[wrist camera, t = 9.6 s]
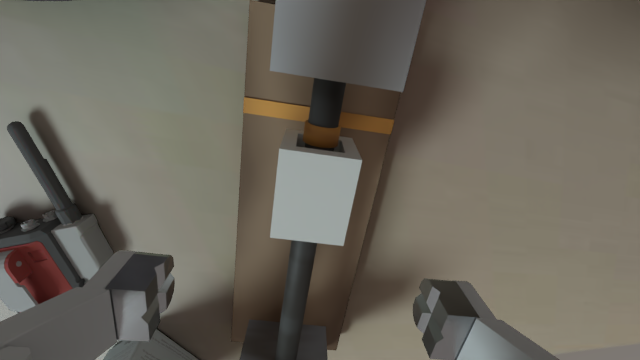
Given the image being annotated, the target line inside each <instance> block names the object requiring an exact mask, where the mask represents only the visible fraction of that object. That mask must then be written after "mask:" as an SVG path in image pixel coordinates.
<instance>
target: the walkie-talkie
mask: <svg viewBox="0 0 640 360" xmlns="http://www.w3.org/2000/svg"><path fill="white" fill-rule="evenodd" d="M7 130H8V132H9V134H10V135H11V137H12V138H13V140H14V142H15V143H16V145H17V147H18V148H19V150H20V151H21V153H22V155H23V156H24V158H25V160H26V161H27V163H28V164H29V166H30V168H31V169H32V171H33V173H34V174H35V176H36V177H37V179H38V181H39V182H40V184H41V186H42V187H43V189H44V190H45V192H46V194H47V195H48V197H49V199H50V200H51V202H52V203H53V205H54V207H55V208H56V211H55V210H52V211H49V212H46V213H45V215H44V214H43V215H42V216H43V219H37V220H34V219H31V220H28V221H25V222H21V223H16V221H15V219H14V218H13V217H5V218H1V219H0V299H1V300H2V301H3V302H4V304H5V305H6V306H7V307H8V309H9V310H11V311H16V312H18V313H21V312H23V311H25V310H27V309H29V308H32V307H34V306H36V305H38V304H40V303H43V302H45V301H47V300H49V299H51V298H54V297H56V296H58V295H60V294H62V293H65V292H67V291H69V290H71V289H73V288H76V287H83V286H84V285H85V284H86V283H87V282H88V281H89V280H90V279H91V278H92V277H93V276H94V275H95V273H96V272H97V271H98V270H99V269H100V268H101V267H102V266H103V265H104V264H105V263H106V262H107V261H108V260H109V259H110V258H111V256H112V255H113V254H114V253H113V251H112V249H111V247H110V246H109V244H108V242H107V240H106V239H105V237H104V235H103V233H102V231H101V230H100V228H99V226H98V224H97V223H98V221H97V219H96V217H95V215H94V214H89V215H83V216H82V215H81V214H80V212H79V210H78V208H77V207H76V205H75V204H73V203H72V202H71V200H70V199H69V197H68V195H67V194H66V192H65V190H64V188H63V187H62V185H61V183H60V182H59V180H58V178H57V176H56V175H55V173H54V171H53V170H52V168H51V166H50V165H49V163H48V161H47V159H44V158H43V157H42V155H41V153H40V152H39V150H38V148H37V147H36V145H35V143H34V142H33V140H32V138H31V137H30V135H29V133H28V132H27V130H26V128H25V127H24V125H23V124H22V123H21V122H12V123H10V124H9V125H8V126H7ZM15 223H16V224H15Z"/></svg>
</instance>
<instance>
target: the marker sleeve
mask: <svg viewBox="0 0 640 360" xmlns="http://www.w3.org/2000/svg"><path fill="white" fill-rule="evenodd" d="M303 134H304V131H300V130H293V129H286V130H285V133H284V136H283V139H282V142H281V145H280V148H279V156H278V165H277V174H276V184H275V193H274V203H273V212H272V222H271V231H270V238H278V239H286V240H295V241H304V242H313V243H321V244H330V245H339V246H343V245H344V241H345V236H346V232H347V227H348V223H349V218H350V214H351V209H352V205H353V200H354V196H355V191H356V187H357V182H358V178H359V173H360V169H361V164H362V158H361V156H360V154H359V152H358V150H357V148H356V145H355V143H354V141H353V139H352V138H348V137H341V136H339V141H338V146H337V147H334V152H333V151H326V150H319V149H312V148H305V142H304V141H303Z"/></svg>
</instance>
